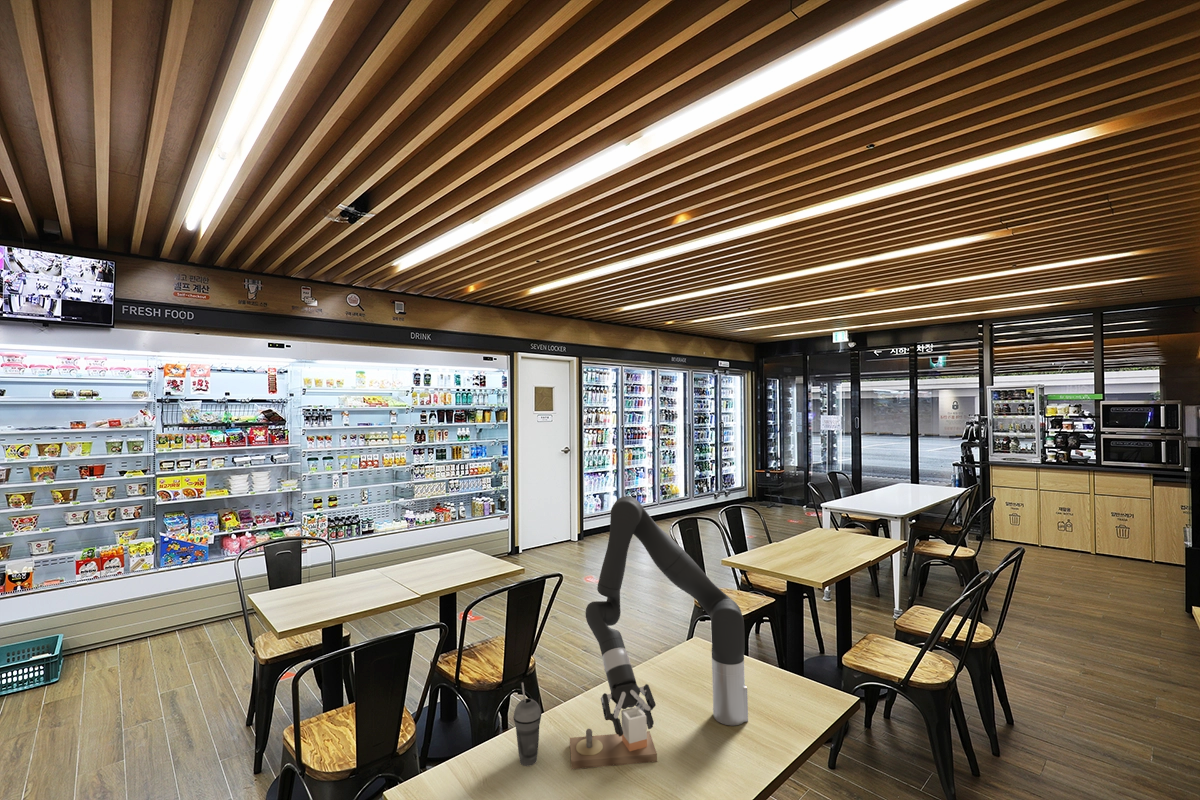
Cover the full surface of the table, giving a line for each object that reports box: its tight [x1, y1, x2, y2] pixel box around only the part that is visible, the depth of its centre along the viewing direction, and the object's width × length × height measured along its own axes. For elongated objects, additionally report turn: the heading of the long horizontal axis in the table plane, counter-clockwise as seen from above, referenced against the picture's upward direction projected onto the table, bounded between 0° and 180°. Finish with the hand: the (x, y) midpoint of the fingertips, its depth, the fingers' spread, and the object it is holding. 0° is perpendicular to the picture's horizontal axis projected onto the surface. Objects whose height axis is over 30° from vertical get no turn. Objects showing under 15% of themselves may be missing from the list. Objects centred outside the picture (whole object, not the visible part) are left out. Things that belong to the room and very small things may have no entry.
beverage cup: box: [512, 682, 542, 767], centre depth 143 cm, size 7×7×20 cm
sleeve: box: [620, 706, 648, 751], centre depth 145 cm, size 5×5×8 cm
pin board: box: [569, 728, 658, 770], centre depth 145 cm, size 22×10×7 cm, turn 96°
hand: (636, 731), depth 144 cm, fingers open, 8 cm apart
